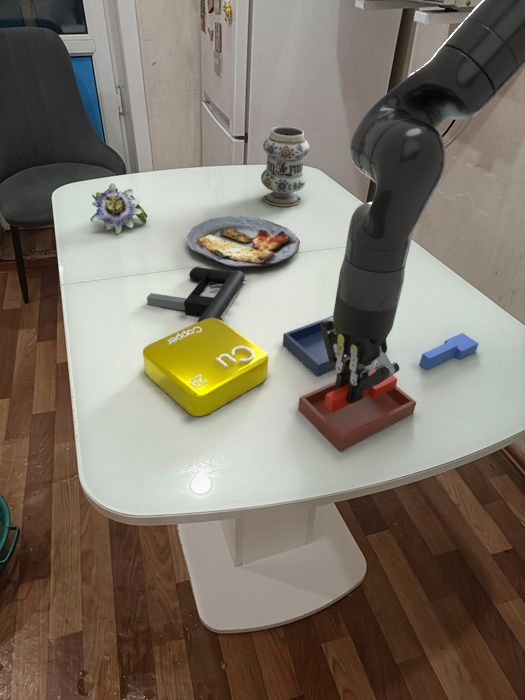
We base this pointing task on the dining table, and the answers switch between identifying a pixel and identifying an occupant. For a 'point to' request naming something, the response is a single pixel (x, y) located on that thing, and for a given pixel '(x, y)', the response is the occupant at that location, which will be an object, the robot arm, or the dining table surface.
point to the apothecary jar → (284, 165)
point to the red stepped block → (338, 396)
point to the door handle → (203, 304)
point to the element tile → (205, 365)
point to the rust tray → (355, 415)
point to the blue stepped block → (449, 350)
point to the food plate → (243, 241)
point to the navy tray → (310, 347)
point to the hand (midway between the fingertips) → (347, 395)
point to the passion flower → (117, 208)
